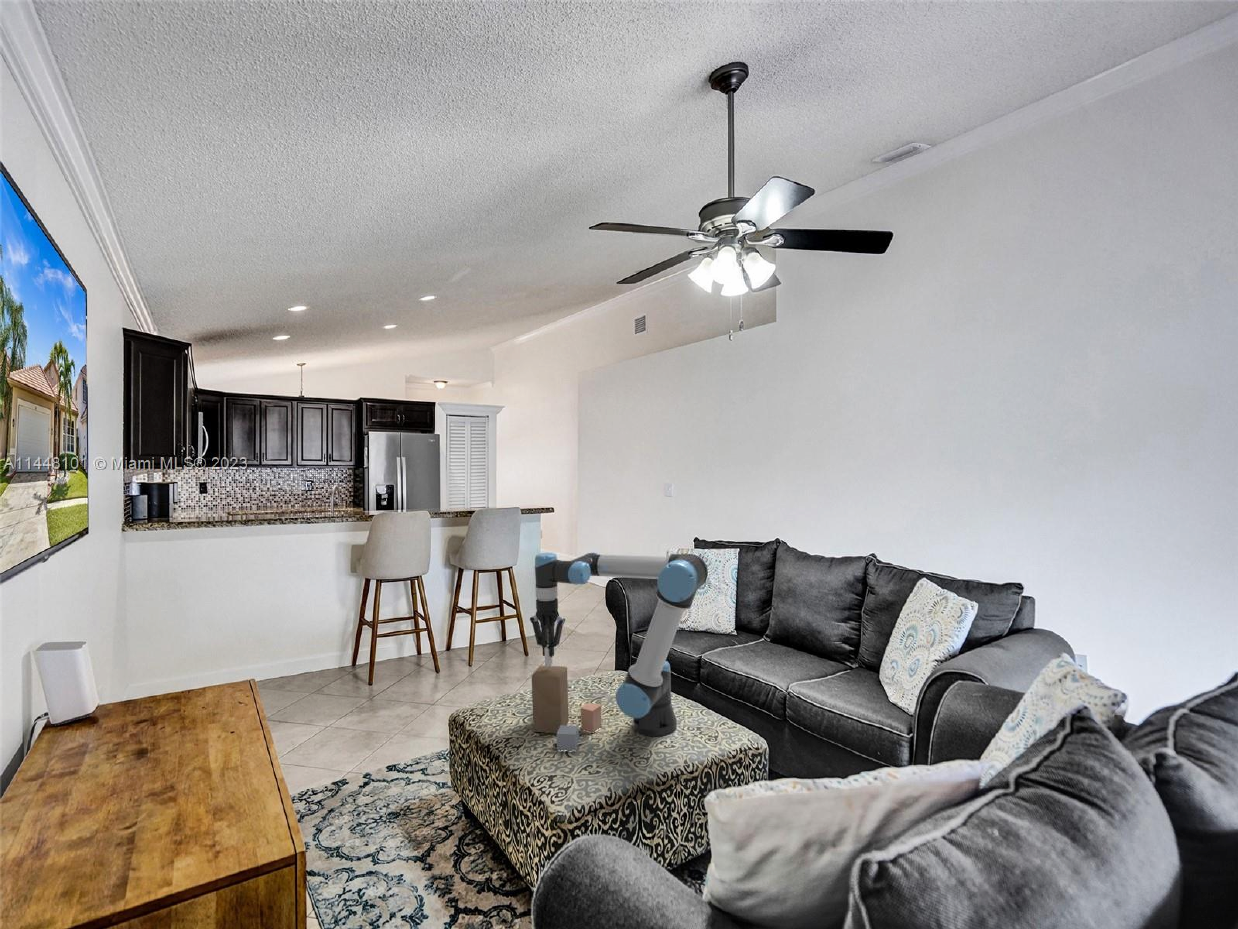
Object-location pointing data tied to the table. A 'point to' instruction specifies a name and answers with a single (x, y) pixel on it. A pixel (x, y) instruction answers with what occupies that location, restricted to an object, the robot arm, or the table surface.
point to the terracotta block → (591, 717)
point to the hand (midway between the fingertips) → (548, 665)
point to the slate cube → (567, 737)
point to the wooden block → (550, 698)
